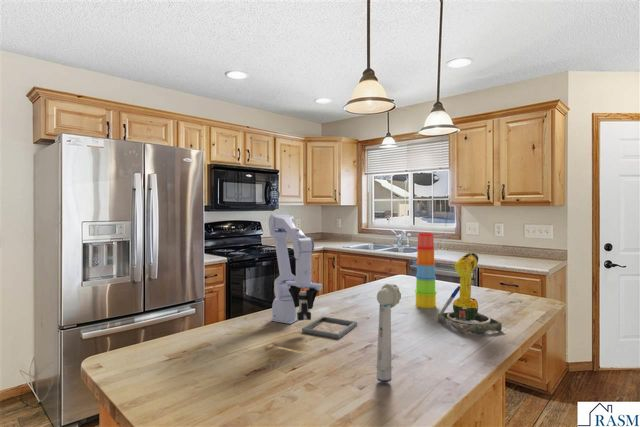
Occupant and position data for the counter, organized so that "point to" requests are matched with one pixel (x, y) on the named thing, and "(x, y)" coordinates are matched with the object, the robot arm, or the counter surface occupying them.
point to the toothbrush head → (385, 330)
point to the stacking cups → (425, 272)
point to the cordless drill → (466, 302)
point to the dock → (309, 330)
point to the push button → (303, 307)
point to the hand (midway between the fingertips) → (303, 307)
